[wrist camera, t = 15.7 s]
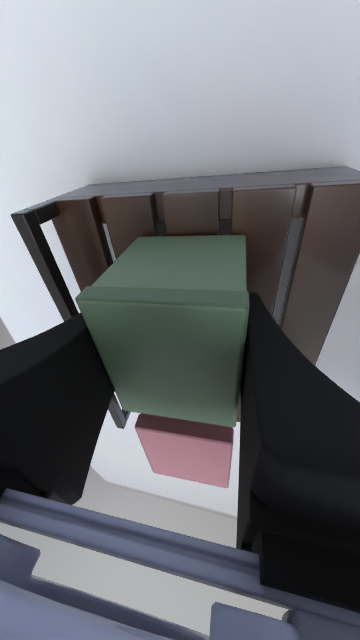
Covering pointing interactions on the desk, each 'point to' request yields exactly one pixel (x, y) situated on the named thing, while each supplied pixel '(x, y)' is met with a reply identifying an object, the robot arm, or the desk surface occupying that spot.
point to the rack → (203, 220)
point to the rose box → (187, 448)
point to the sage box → (173, 325)
